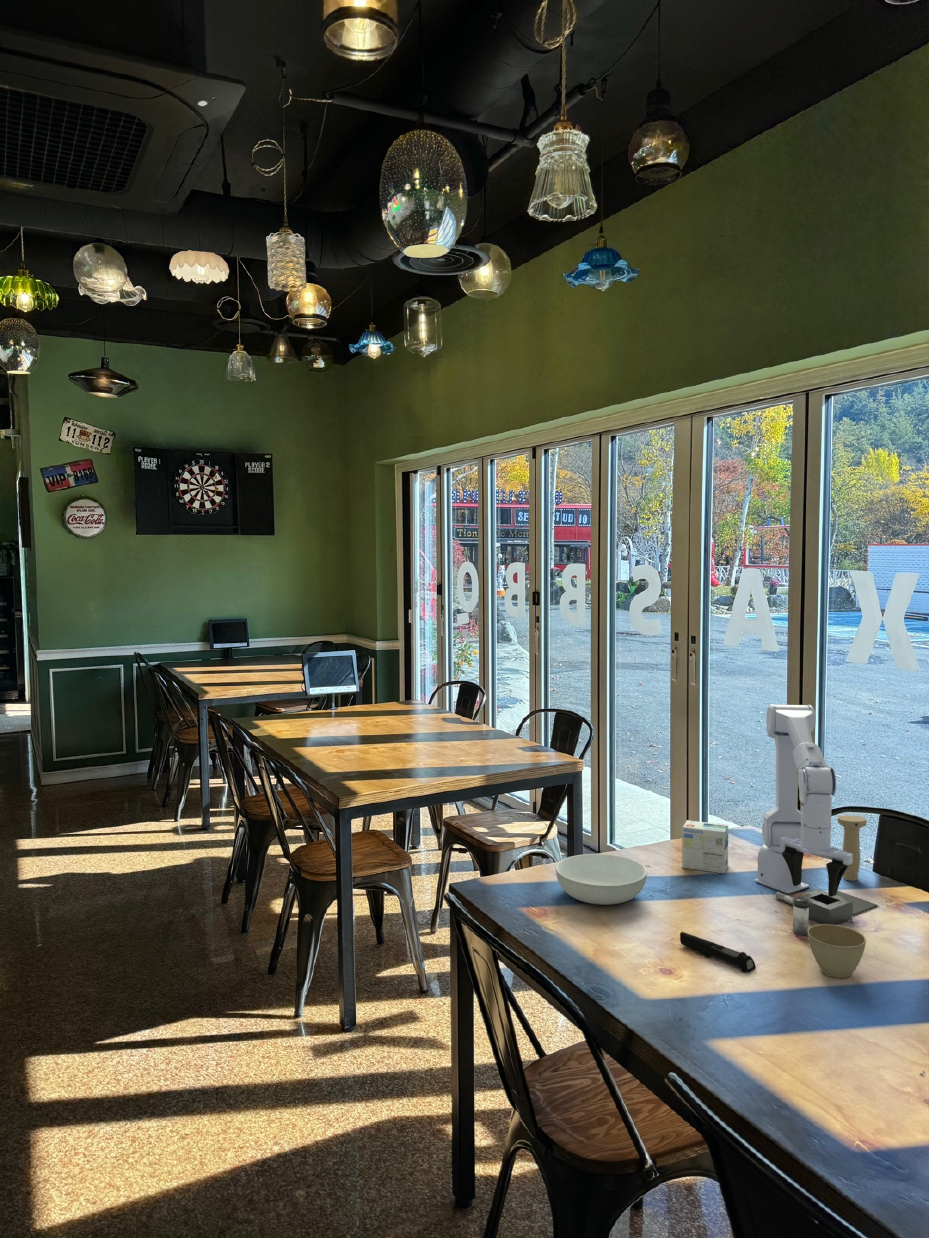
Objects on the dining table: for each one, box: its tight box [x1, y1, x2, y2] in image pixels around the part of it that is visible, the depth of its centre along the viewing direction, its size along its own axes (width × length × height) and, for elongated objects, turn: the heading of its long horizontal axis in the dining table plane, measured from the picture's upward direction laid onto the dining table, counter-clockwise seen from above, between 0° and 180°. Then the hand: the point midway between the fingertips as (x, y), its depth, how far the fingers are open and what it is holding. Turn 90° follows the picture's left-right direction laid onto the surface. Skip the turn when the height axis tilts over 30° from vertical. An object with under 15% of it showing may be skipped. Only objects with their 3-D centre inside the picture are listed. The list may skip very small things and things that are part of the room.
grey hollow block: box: [774, 889, 853, 926], centre depth 185 cm, size 16×8×4 cm, turn 32°
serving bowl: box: [555, 853, 648, 906], centre depth 193 cm, size 21×21×7 cm
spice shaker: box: [792, 896, 810, 937], centre depth 174 cm, size 3×3×7 cm
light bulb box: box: [681, 819, 729, 874], centre depth 212 cm, size 11×7×11 cm, turn 66°
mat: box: [837, 890, 878, 917], centre depth 189 cm, size 10×9×1 cm
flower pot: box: [807, 924, 867, 979], centre depth 157 cm, size 10×10×7 cm
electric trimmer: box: [679, 931, 757, 974], centre depth 163 cm, size 4×16×3 cm, turn 42°
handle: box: [837, 814, 868, 882], centre depth 203 cm, size 5×6×15 cm
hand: (814, 889), depth 172 cm, fingers open, 7 cm apart
